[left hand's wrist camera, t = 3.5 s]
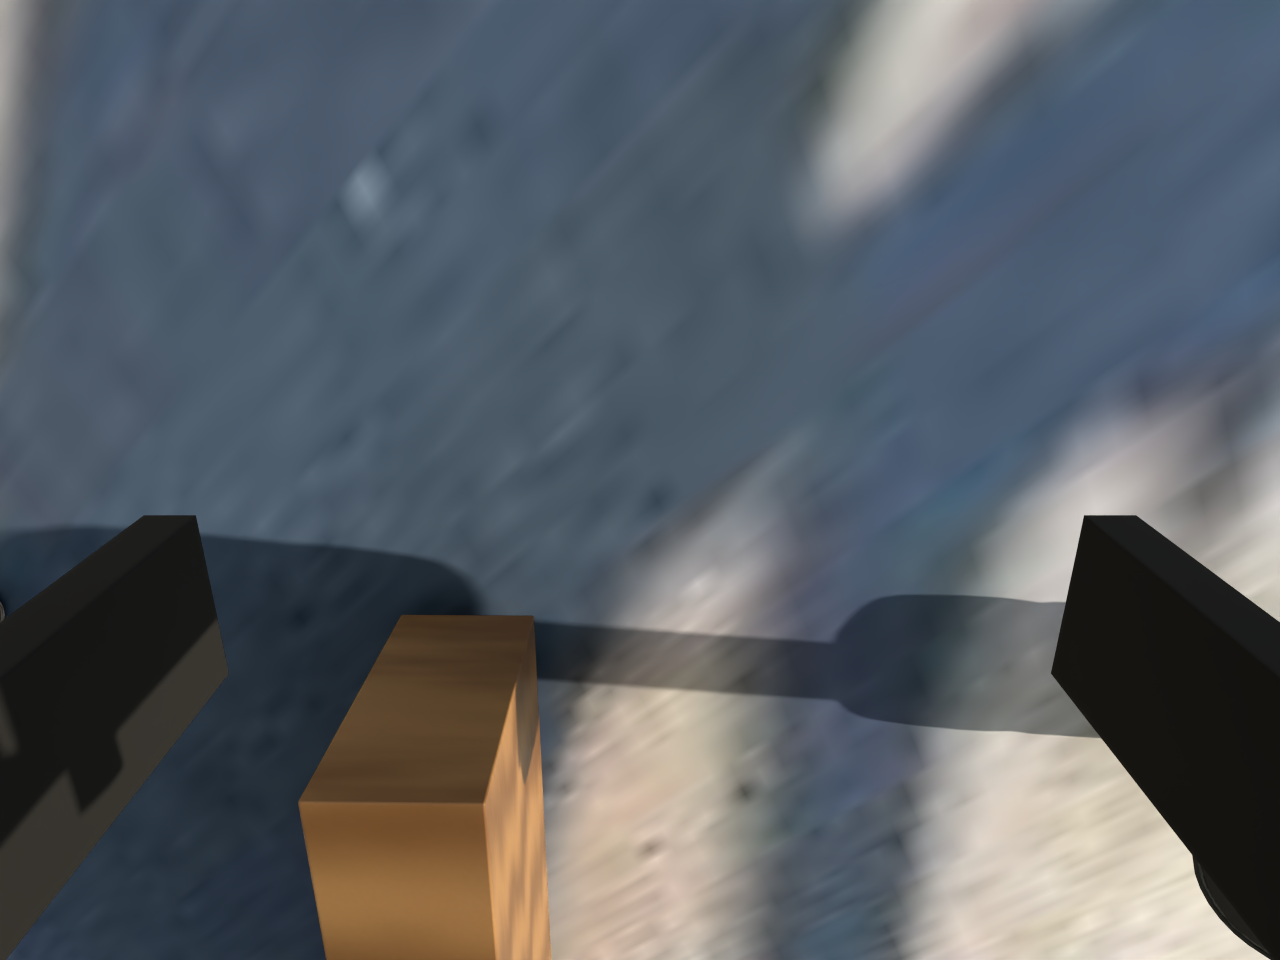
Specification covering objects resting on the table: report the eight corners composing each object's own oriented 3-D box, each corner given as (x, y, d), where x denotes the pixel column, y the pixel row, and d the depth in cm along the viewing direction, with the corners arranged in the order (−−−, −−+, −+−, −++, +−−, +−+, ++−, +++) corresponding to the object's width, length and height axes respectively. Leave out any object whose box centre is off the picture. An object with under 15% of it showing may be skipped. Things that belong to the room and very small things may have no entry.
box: (400, 613, 40) (296, 802, 29) (534, 614, 40) (484, 803, 29) (448, 1029, 50) (385, 1296, 39) (555, 1030, 50) (525, 1298, 38)
